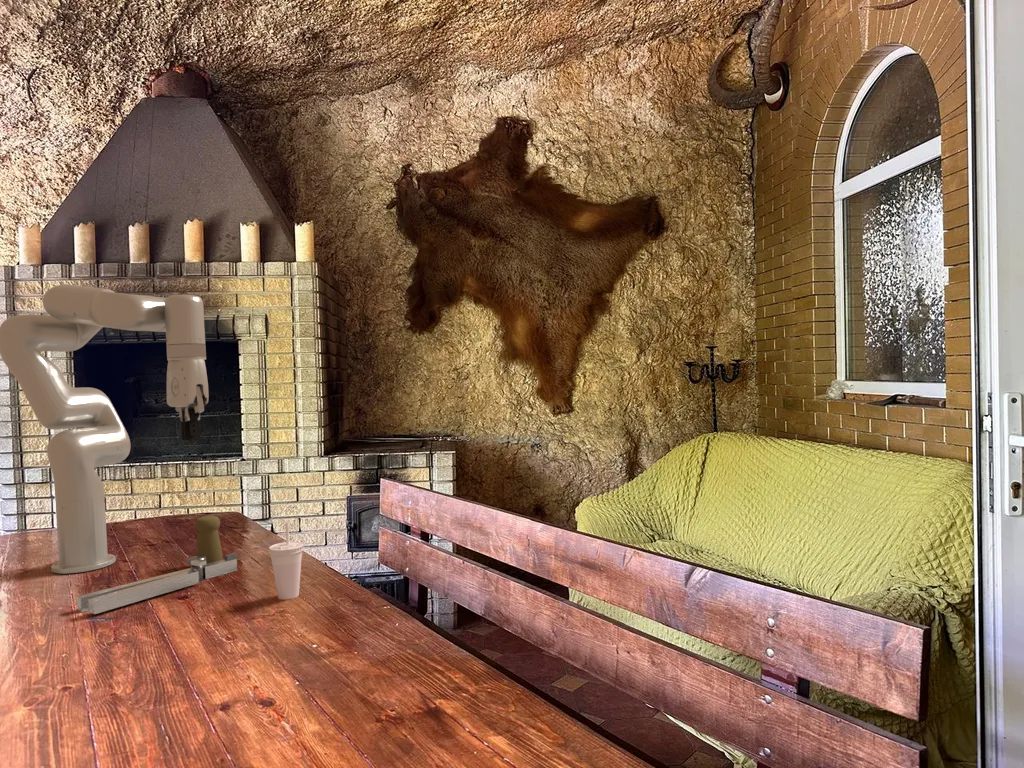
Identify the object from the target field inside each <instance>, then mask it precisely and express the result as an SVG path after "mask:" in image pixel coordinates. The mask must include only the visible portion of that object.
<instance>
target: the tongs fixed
mask: <svg viewBox="0 0 1024 768" xmlns="http://www.w3.org/2000/svg"><path fill="white" fill-rule="evenodd" d="M238 559H239V553H238V552H232V553H229V554H224V556H223V560H220V561H216V562H212V563H208V564H206V565H203V566H194V565H191V564H190V568H185V569H181V570H177V571H172V572H169V573H165V574H161V575H156V576H153V577H150V578H145V579H144V578H143V579H140V580H138V581H133V582H128V583H125V584H122V585H121V584H120V585H118V586H113V587H109V588H105V589H102V590H97V591H92V592H89V593H86V594H80V595H77V596H76V602H77V603H76V605H77V606H76V607H77V611H78V612H80V613H84V612H85V613H86V612H89V602H88V599H91V598H95V597H98V596H102V595H106V594H109V593H113V592H116V591H120V590H123V589H127V588H130V587H134V586H137V585H141V584H145V583H148V582H152V581H155V580H159V579H162V578H166V577H169V576H173V575H177V574H180V573H184V572H187V571H191V570H195V571H198V574H199V582H201V581H204V580H208V579H211V578H215V577H220V576H223V575H227V574H230V573H234V571H235V572H237V571H238Z"/></svg>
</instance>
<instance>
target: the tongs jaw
mask: <svg viewBox="0 0 1024 768" xmlns="http://www.w3.org/2000/svg"><path fill="white" fill-rule="evenodd" d="M186 563H187V565H190V566H191V565H194V566H203V565H206V556H196V555H195V556H191V557H188V558H186ZM196 584H200V581H199V574H198V571H195V570H191V571H187V572H184V573H180V574H177V575H173V576H169V577H166V578H162V579H159V580H155V581H152V582H148V583H145V584H141V585H137V586H134V587H130V588H127V589H123V590H120V591H116V592H113V593H109V594H106V595H102V596H98V597H95V598H91V599H88V602H89V611H88V613H90V614H92V615H96V614H101V613H104V612H107V611H110V610H114V609H117V608H120V607H124V606H127V605H130V604H134V603H137V602H140V601H143V600H148V599H150V598H153V597H156V596H160V595H163V594H166V593H170V592H174V591H177V590H180V589H183V588H186V587H190V586H193V585H196Z"/></svg>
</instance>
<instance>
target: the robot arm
mask: <svg viewBox="0 0 1024 768" xmlns="http://www.w3.org/2000/svg"><path fill="white" fill-rule="evenodd" d="M42 306H43V309H44V310H45V312H46V313H47V314H48V315H47V314H45V315H44V314H17V315H14V316H11V317H9V318H7V319H5V320H4V321H2V323H1V324H0V357H1V360H2V361H3V363H4V365H5V366H6V367H7V368H8V370H9V371H10V373H11V374H12V375H13V376H14V378H15V380H16V381H17V382H18V384H19V386H20V387H21V390H22V392H23V394H24V395H25V398H26V400H27V401H28V404H29V405H30V408H31V409H32V411H33V413H34V415H35V417H36V419H37V421H38V422H39V424H40V425H41V426H42V427H44V428H45V429H48V430H56V431H57V430H63V431H59V432H58V433H56V434H55V435H53V436H52V437H51V438H50V440H49V441H48V443H47V446H46V455H47V459H48V463H49V466H50V471H51V473H52V478H53V485H54V498H55V513H56V514H55V515H56V528H57V529H56V531H57V547H58V548H57V550H58V561H56V562H54V563H53V564H51V566H50V570H51V572H52V573H55V574H63V575H64V574H65V575H67V574H78V573H85V572H86V573H87V572H91V571H94V570H100V569H103V568H105V567H108V566H110V565H113V564H114V563H115V562H116V561H117V557H116V555H114V554H112V553H109V552H108V551H109V550H108V537H107V536H108V535H107V517H106V500H105V499H106V497H105V487H104V484H103V481H102V479H101V478H100V476H99V475H98V473H97V472H96V470H95V469H97V468H100V467H107V466H111V465H116V464H119V463H122V462H123V461H125V460H126V459H127V458H128V457H129V455H130V452H131V439H130V436H129V433H128V432H127V430H126V427H125V426H124V424H123V421H122V420H121V418H120V416H119V414H118V412H117V410H116V408H115V407H114V405H113V403H112V401H111V399H110V398H109V396H107V395H106V393H104V392H103V391H102V390H101V389H98V388H95V387H88V386H87V387H83V386H82V387H74V386H71V385H70V384H69V383H68V382H67V380H66V379H65V377H64V374H63V372H62V371H61V369H60V368H59V367H58V366H57V365H56V364H55V363H54V362H53V361H52V360H50V359H49V358H48V357H46V356H45V355H43V354H42V353H41V352H63V353H64V352H65V353H68V352H74V351H78V350H79V349H81V348H83V347H84V346H85V345H86V344H87V343H89V341H90V340H91V339H92V338H93V337H94V336H96V335H97V334H98V332H100V330H102V329H103V328H108V329H109V328H110V329H116V330H123V331H131V332H135V331H136V332H154V333H155V332H156V333H165V338H166V339H165V341H166V342H165V343H166V358H167V359H166V360H167V361H168V362H167V368H166V369H167V370H166V404H167V405H168V406H169V407H171V408H175V411H176V412H177V413H178V414H179V420H180V431H181V439H182V440H183V441H193V440H200V438H201V430H200V429H201V427H200V425H201V424H200V420H201V414H202V413H203V412H204V411H205V406H206V405H207V404H208V403H209V382H208V375H207V367H206V361H205V360H207V351H206V350H207V349H206V348H207V347H206V331H205V330H206V329H205V310H204V301H203V299H202V298H201V296H198V295H195V294H172V295H168V296H167V297H161V296H153V295H143V294H131V293H121V292H115V291H114V290H112V289H109V288H105V287H104V288H103V287H102V288H101V287H95V286H94V287H93V286H85V285H76V284H59V285H55V286H53V287H50V288H49V289H48V290H47V291H46V292H45V293H44V295H43V297H42ZM182 440H181V441H182Z"/></svg>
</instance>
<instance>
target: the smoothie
mask: <svg viewBox="0 0 1024 768" xmlns="http://www.w3.org/2000/svg"><path fill="white" fill-rule="evenodd" d="M284 525H285V541H284V542H279V543H276V544H273V545H272V544H271V545H270V546H269V547H268V554H269V555H270V559H271V563H272V565H271V566H272V570H273V574H274V575H273V576H274V581H275V586H276V592H277V598H278V599H279V600H283V601H285V600H287V601H288V600H293V599H296V598H298V597H299V595H300V585H301V584H300V583H301V571H302V570H301V569H302V557H303V551H304V549H305V547H304V543H303V542H301V541H290V532H289V531H290V527H289V522H288V521H286V522H285V524H284Z"/></svg>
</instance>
